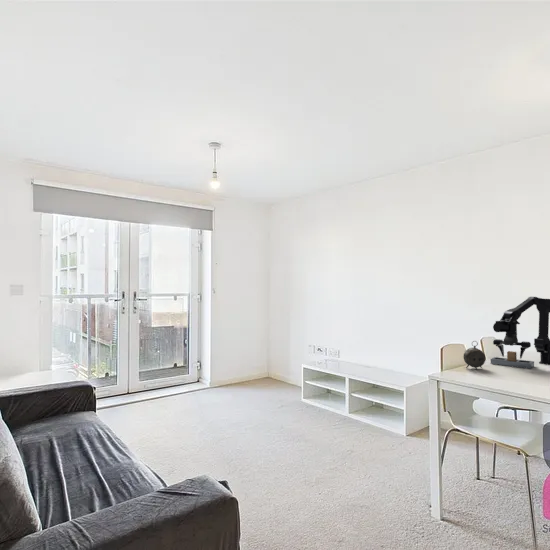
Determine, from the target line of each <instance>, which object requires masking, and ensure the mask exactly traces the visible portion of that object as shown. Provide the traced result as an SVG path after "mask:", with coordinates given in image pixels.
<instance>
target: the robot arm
mask: <svg viewBox="0 0 550 550" xmlns="http://www.w3.org/2000/svg"><path fill="white" fill-rule="evenodd" d="M534 305H535V306H536V309H537V311H538V336H537V337H536V338H534V339H533V340H534V343H533V345H534V348H535V351H536V353H539V354H540V355H539V356H540V357H539V358H540V361H539V364H543V363H544V365H550V338H549V328H550V325H549V323H550V298H541V297H537V296H528V297H527V298H526V299H525V300H524V301H522V302H521V303H519V304H518V305H517V306H516V307H513V308H510V309H507V310H505V311H504V312H503V315H502V316H501V318H500V320H495V322H494V324H493V326H492V329H493V331H494V332H495V333H505V336H504V338H503V339H500V338H499V339H497V338H496V339H494V340H493V342H492V344H493V345H495V347H498V349H499V351H500V353H501V356H502V358H505V350H504V348H505V347H504V345H505V346H520V347H519V348H520V354H519V360H522V358H523V355H524V352H525V351H526V350H528V349H529V348H531V346H532V345H531V342H530V341H519V340H518V330H517V329H518V328H517V327H518V325H520V324H521V323H520V322H519V321H518V320H519V319H520V318H521V315H522V314H523V313H524V312H525V311H527V310H529V309H530V308H531V307H532V306H534Z"/></svg>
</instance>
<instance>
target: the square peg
mask: <svg viewBox="0 0 550 550" xmlns="http://www.w3.org/2000/svg"><path fill="white" fill-rule="evenodd" d="M506 358H507V360H508V361H517V360H518V359H517V358H518V357H517V351H512V350H511V351H510V350H508V351H506Z"/></svg>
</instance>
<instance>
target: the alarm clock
mask: <svg viewBox="0 0 550 550" xmlns="http://www.w3.org/2000/svg"><path fill="white" fill-rule="evenodd" d="M474 342H476V345H473V343H474ZM478 345H479V344H478V341H477V340H473V341H471V346H473V347H469V348H466V350H465V351H464V353H463V361H464V362H465V364H466V365H467V366H466V367H465V368H466V369H468V367H472V368H474V369H475V370H478V368H482V369H483V367H482V366H483V365H484V364H486V359H487V358H486V354H485V352H484V351H483V350H481V349H480V348H477V346H478Z"/></svg>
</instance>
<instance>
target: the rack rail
mask: <svg viewBox="0 0 550 550" xmlns="http://www.w3.org/2000/svg"><path fill="white" fill-rule="evenodd" d="M491 363H492V364H491ZM490 364H491V365H495V364H499V365H498V366H503V365H506V366H505V367H512V366H513V368H521V369H522V368H523V369H528V370H529V369H530V370H531V369H533V368H534V367H535V360H534V361H533V360H524V359H517V361H508V360H507V357H499V356H494V357H492V358H490Z"/></svg>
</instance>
